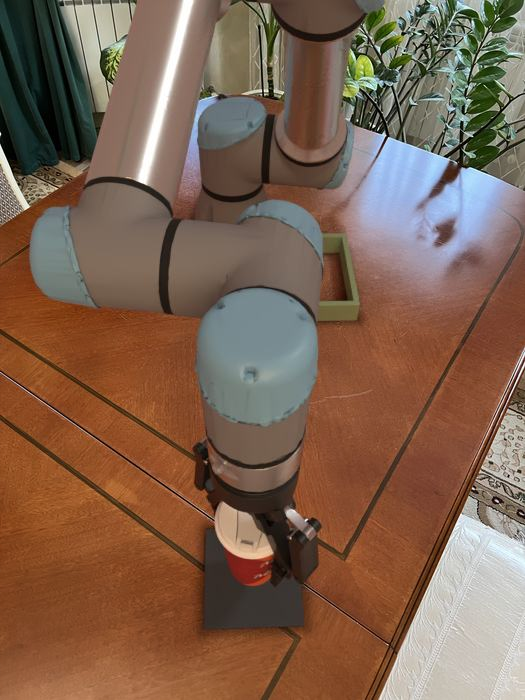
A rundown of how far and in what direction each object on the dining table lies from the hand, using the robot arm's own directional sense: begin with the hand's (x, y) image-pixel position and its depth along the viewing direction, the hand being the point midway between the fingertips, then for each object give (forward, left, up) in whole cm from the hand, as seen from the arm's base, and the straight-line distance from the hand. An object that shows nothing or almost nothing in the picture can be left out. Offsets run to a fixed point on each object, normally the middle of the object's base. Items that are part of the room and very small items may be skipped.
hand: (253, 549), depth 64 cm
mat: (0, 0, -10) cm, 10 cm away
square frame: (-51, +10, -10) cm, 53 cm away
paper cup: (0, 0, -4) cm, 4 cm away
